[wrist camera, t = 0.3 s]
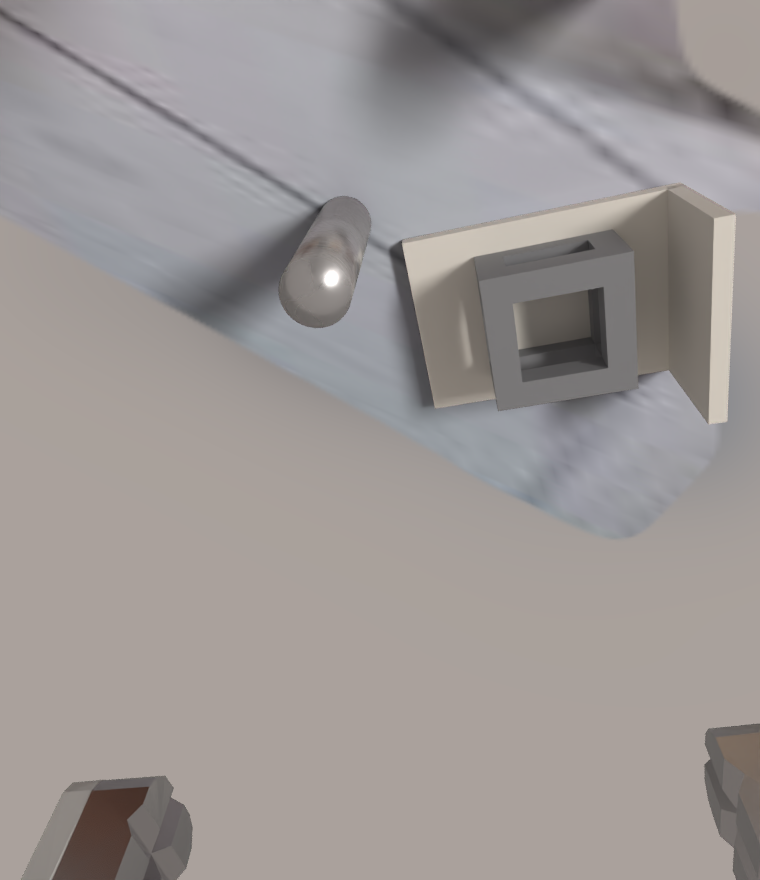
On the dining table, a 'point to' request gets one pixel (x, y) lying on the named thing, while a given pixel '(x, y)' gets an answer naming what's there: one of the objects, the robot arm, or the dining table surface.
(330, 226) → the tube
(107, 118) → the dining table surface
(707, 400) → the stand
